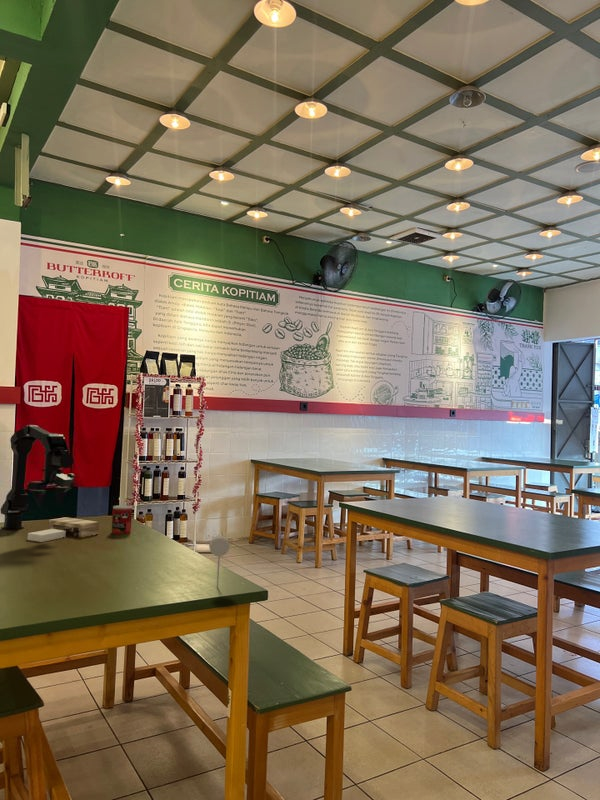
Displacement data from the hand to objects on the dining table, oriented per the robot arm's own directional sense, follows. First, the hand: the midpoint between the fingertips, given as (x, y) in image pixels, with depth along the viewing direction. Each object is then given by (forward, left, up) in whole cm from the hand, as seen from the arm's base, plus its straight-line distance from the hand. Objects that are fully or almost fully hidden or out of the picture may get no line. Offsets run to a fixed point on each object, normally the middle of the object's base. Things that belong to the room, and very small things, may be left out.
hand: (49, 506), depth 232 cm
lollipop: (+90, -22, -13) cm, 93 cm away
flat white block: (-1, +1, -12) cm, 13 cm away
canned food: (+13, +27, -13) cm, 33 cm away
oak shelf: (-1, +15, -12) cm, 20 cm away
